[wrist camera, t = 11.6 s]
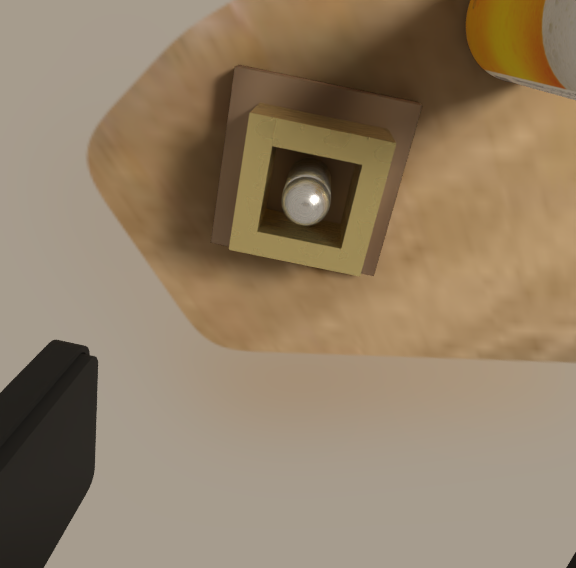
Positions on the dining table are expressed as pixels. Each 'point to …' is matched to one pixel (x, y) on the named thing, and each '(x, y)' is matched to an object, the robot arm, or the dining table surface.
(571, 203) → the dining table surface
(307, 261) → the square wooden frame
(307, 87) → the keeper block
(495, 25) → the beer can
